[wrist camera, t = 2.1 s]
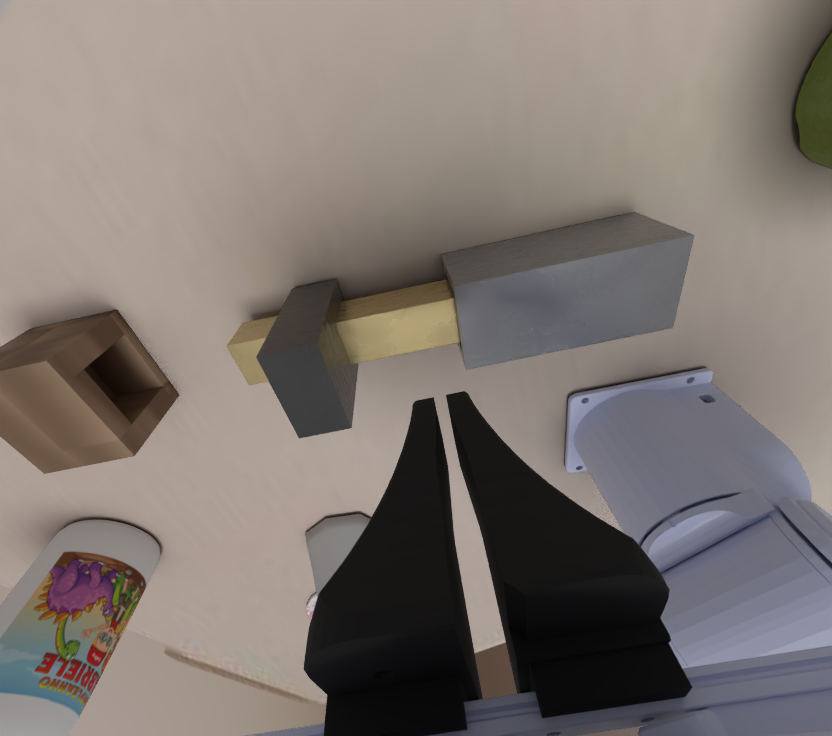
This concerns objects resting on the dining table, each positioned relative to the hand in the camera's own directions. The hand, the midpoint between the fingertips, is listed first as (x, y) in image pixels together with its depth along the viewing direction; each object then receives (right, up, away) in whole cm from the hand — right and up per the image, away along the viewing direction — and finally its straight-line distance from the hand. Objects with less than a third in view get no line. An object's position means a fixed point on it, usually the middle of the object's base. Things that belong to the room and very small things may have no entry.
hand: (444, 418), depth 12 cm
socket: (-19, +2, +9) cm, 21 cm away
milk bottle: (-26, -13, +19) cm, 35 cm away
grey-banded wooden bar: (0, +6, +8) cm, 10 cm away
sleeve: (+6, +7, +8) cm, 12 cm away
